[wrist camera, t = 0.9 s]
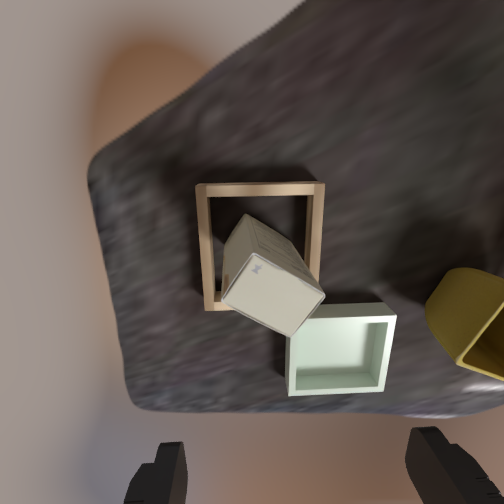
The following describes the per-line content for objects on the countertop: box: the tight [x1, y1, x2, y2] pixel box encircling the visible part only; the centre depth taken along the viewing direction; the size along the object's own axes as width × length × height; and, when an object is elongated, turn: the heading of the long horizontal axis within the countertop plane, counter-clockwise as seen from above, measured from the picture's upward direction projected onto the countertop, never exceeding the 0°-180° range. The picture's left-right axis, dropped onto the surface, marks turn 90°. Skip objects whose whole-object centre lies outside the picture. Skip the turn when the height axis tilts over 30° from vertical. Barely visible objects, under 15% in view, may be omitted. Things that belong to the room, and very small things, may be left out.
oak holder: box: [195, 181, 325, 311], centre depth 30 cm, size 12×13×2 cm
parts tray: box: [285, 302, 397, 396], centre depth 34 cm, size 12×11×3 cm
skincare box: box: [221, 214, 325, 338], centre depth 25 cm, size 6×4×12 cm
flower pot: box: [425, 267, 504, 381], centre depth 30 cm, size 9×9×9 cm
